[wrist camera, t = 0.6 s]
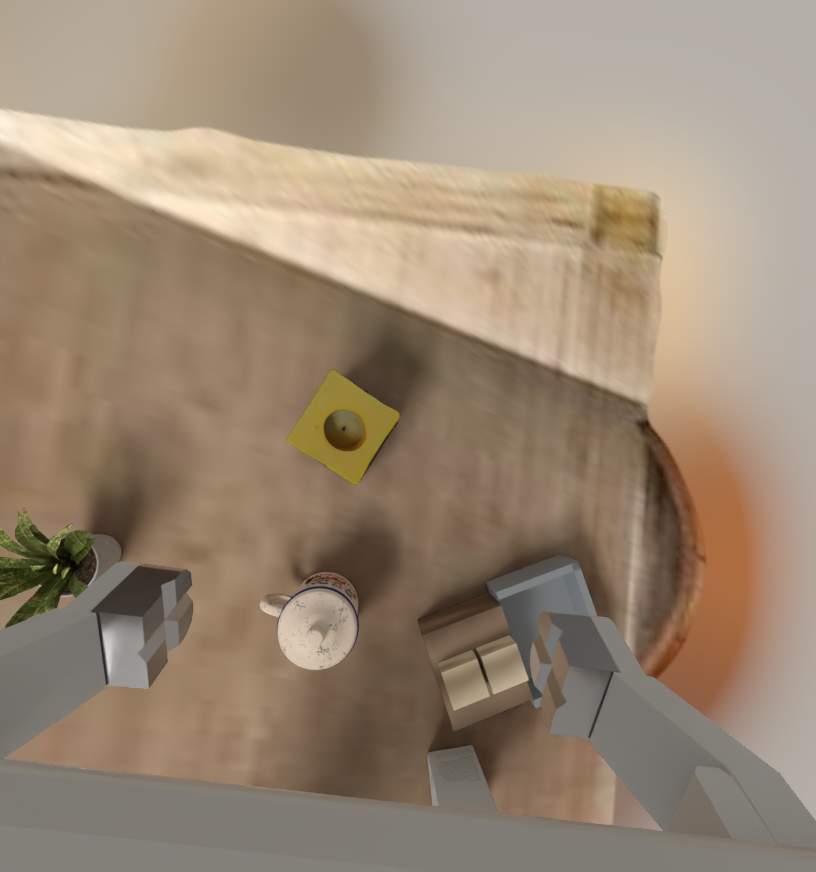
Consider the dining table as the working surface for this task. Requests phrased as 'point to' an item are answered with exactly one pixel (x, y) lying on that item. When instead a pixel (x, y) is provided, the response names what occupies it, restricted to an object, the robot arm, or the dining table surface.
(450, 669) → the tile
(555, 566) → the tray
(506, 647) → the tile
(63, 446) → the dining table surface
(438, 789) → the small box
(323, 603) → the teacup with lid
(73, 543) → the house plant
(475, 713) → the brown and beige block
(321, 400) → the candle
